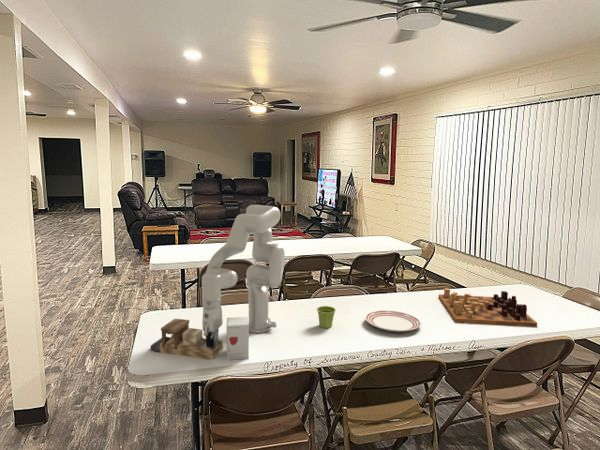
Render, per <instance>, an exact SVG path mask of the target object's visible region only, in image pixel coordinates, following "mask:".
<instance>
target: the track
mask: <svg viewBox="0 0 600 450" xmlns="http://www.w3.org/2000/svg"><path fill="white" fill-rule="evenodd" d="M189 325H190V319H183V318H174V319H171V320H170V321H169V322H168V323H166V324H164V325H162V327H160V331H161V338H159V339H158V340H156V341H155V342H153V343H152V344H151V345H150V352H153V353H161V354H169V355H174V356H175V355H176V356H183V357H190V358H191V357H192V358H196V357H197V359H204V360H205V359H206V360H212V361H213V360H215V358H216V357H218V355H219V354H220V353H221V352H222V351H223V350H224V340H220V339H218V344H219V346H218V347H217V348H216V349H215V350H214V349H208V348H200V347H193V346H185V345H183V333H184V332H185V331H186V330H188V329H189V328H190V327H189ZM167 335H170V336H167ZM203 342H206V337H205V338H204V337H203Z"/></svg>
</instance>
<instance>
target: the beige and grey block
mask: <svg viewBox="0 0 600 450" xmlns="http://www.w3.org/2000/svg"><path fill="white" fill-rule="evenodd" d="M208 333H209V334H210V335H211V333H210V332H208ZM203 336H204V335H203V328H202V329H200V328H194V327H193V328H191V327H189V329H188V330H186V331H185V332H184V333H183V345H185V346H193V347H200V348H208V349H214V350H215V349H216V348H217V347H218V346H219V344H218V340H219V333H218V329H217V330H216V331H215V332H213V338H214V347H207V346H206V342H203V338H204V337H203Z"/></svg>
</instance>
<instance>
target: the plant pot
mask: <svg viewBox="0 0 600 450" xmlns="http://www.w3.org/2000/svg"><path fill="white" fill-rule="evenodd" d="M316 311H317V313H318V322H319V323H318V324H319V327H320V328H322V329H327V328H328V329H330V328H332V327H333V321H334V316H335V312H336V308H335V307H333V306H328V305H321V306H318V307H317V308H316Z"/></svg>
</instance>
